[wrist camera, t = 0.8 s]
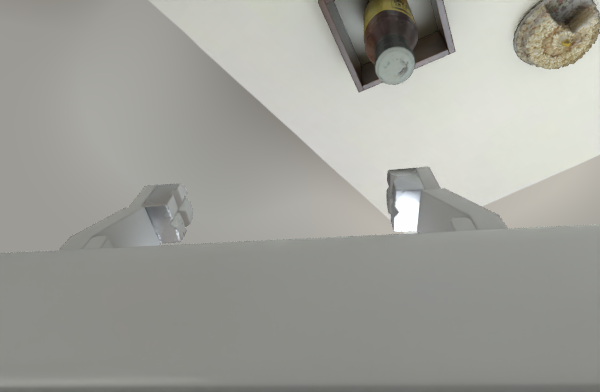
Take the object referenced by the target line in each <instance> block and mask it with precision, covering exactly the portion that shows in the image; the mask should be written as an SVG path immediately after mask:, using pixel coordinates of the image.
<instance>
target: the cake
mask: <svg viewBox="0 0 600 392" xmlns="http://www.w3.org/2000/svg"><path fill="white" fill-rule="evenodd" d="M599 29H600V13H599V11H598V10H597V8H596V4H595V3H594V2H593V0H544V1H543V2H541V3H540V4H538V5H536V7H535V8H533V9H532V10H531V11H530V12H529V13H528V14H527V15H526V16H525V17H524V19H523V20H522V21H521V23H520V25H519V26H518V28H517V32H516V33H515V39H514V48H515V51H516V53H517V56H518V57H520V59H521V60H523V61H524V62H526V63H528V64H530V65H536V67H543V68H545V69H559V68H560V67H561V66H562V67H564V66H565V67H566V66H568V65H569V64H574V63H575V62H576V61H577V60H578V59H580V58H582V57H583V55H584V54H585V52H588V51H589V49H590V48H591V47H592V44H595V41H596V39H597V37H598V34H600V32H599Z"/></svg>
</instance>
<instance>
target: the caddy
mask: <svg viewBox="0 0 600 392" xmlns="http://www.w3.org/2000/svg"><path fill="white" fill-rule="evenodd" d="M334 1H335V0H319V1H318V3H319V6H320V8H321V10H322V12H323V14H324V17H325V19H326V21H327V23H328V25H329V28H330V30H331V32H332V34H333V36H334V39H335V41H336V43H337V45H338V47H339V50H340V52H341V54H342V56H343V58H344V61H345V63H346V65H347V67H348V70H349V72H350V74H351V76H352V78H353V81H354V83H355V85H356V87H357V89H358V92H361V91H364V90H366V89H369V88H371V87H373V86H376V85H378V84H380V83H383V82H382V81H381V80H379V78H378V77H377V75H376V72H375V67H374V64H373V62H369V63H366V64H364V65H362V66H361V64H360V62H359V60H358V57H357V55H356V53H355V50H354V48H353V46H352V43H351V41H350V38H349V36H348V34H347V31H346V29H345V27H344V24H343V22H342V20H341V17H340V15H339V13H338V10H337V8H336V6H335V3H334ZM431 3H432V7H433V11H434V15H435V19H436V22H437V26H438V30H439V31H437V32H435V33H432V34H430V35H428V36H426V37H424V38H421V39H419V40H417V43H416V46H415V48H414V49H413V53H414V56H415V68H414V69H416V68H418V67H420V66H423V65H425V64H428V63H430V62H432V61H435V60H437V59H439V58H442V57H444V56H446V55H449V54H451V53H454V52H455V47H454V43H453V39H452V35H451V31H450V27H449V23H448V19H447V15H446V10H445V6H444V2H443V0H431Z"/></svg>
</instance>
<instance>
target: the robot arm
mask: <svg viewBox="0 0 600 392" xmlns="http://www.w3.org/2000/svg"><path fill="white" fill-rule="evenodd" d="M387 182H388V185H389V188H388V189H387V208H388V212H389V214H391V223H392V227H393V230H394V231H395V232H397V231H417V232H418V233H410V234H389V235H369V236H348V237H328V238H307V239H286V240H265V241H244V242H223V243H203V244H182V245H161V243H174V242H181V241H182V239H183V237H184V235H185V233H186V228H185V227H186V226H188V225H189V224H190V223H191V221H192V218H193V208H192V205H191V202H190V201H189V200H188V199H187V198H185V197H186V195H187V190H186V188H185V186H184V185H183V184H166V185H148V186H145V187H144V188H143V189H142V191H141V192H140V193H139V194H138V196H137V197H136V198H135V200H134V201H133V202H132V203H131V205H130V206H129V207H128V208H123V209H122V210H120V211H118V212H116V213H114V214H112V215H110V216H108V217H107V218H105V219H103V220H101V221H99V222H97V223H95V224H93V225H92V226H90V227H88V228H86V229H84V230H82V231H80V232H79V233H77V234H75V235H73V236H71V237H70V238H69V239H68V240H67V241H66V242H65V244H64V245H63V246H62V247H61V248H60V249H59V250H57V251H36V252H16V253H0V392H600V224H599V225H598V224H597V225H577V226H556V227H535V228H514V229H508V228H507V226H506V225H505V223H504V222H503V221H502V219H501V218H500V216H499V215H498V214H496V213H494V212H492V211H490V210H488V209H486V208H484V207H482V206H479V205H477V204H475V203H473V202H471V201H469V200H467V199H465V198H463V197H461V196H459V195H457V194H455V193H453V192H451V191H449V190H447V189H441V188H440V186H439V184H438V182H437V181H436V179H435V177H434V175H433V173H432V171H431V169H430V167H419V168H408V169H397V170H388V173H387ZM160 245H161V246H160Z"/></svg>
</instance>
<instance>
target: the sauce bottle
mask: <svg viewBox="0 0 600 392" xmlns="http://www.w3.org/2000/svg"><path fill="white" fill-rule="evenodd" d="M417 40H418V30H417V27H416V24H415V21H414V18H413V15H412V13H411V10H410V8H409V5H408V2H407V0H370V1H369V3H368V5H367V6H366V9H365V13H364V43H365V50H366V54H367V56H368V58H369V59H370V61H371V62H373V64H374V67H375V72H376V75H377V77H378V78H379V80H381V81H382V82H384V83H386V84H392V85H395V84H399V83H402V82H404V81H405V80H407V79H408V78H409V77H410V76H411V74H412V72H413V70H414V68H415V56H414V53H413V49H414V48H415V46H416V43H417Z"/></svg>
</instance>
